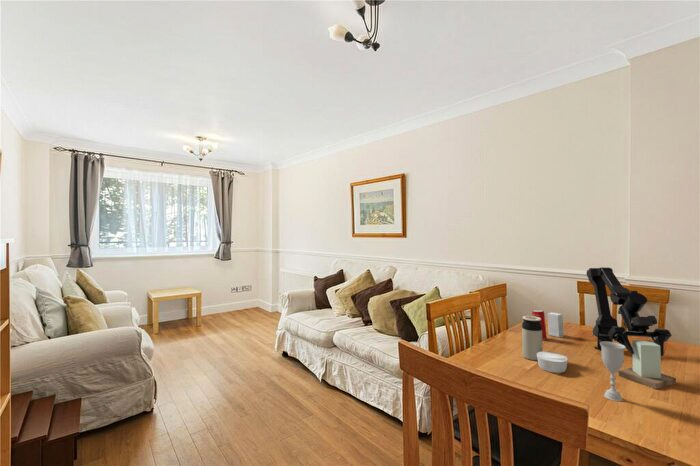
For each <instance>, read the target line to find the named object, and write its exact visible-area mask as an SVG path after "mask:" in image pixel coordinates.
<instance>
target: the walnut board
mask: <svg viewBox="0 0 700 466" xmlns="http://www.w3.org/2000/svg"><path fill="white" fill-rule="evenodd" d="M618 376H619V377H621V378H623V379H627V380H629V381H632V382H635V383H637V384H639V385H642V386H645V385H646V387H648V386H649V388H651V387H652V388H651V389H654V388H655V389H654V390H658V388H659V389H661V387H662V388H666V387H668V386H672V385H675V383H677V377H674V376H671V375H667V374H665V373H662V372H661V378H649V377H641V376H640V375H638V374H637V373H636V372H634V371H633V366H632V367H630V368H625V369H620V370H619V371H618Z"/></svg>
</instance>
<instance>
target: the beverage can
mask: <svg viewBox="0 0 700 466" xmlns="http://www.w3.org/2000/svg"><path fill="white" fill-rule="evenodd" d="M531 316H535V317H539V318H541V321H540V323H541V325H542V341H544V340H547V338H548V337H547V328H546V326H547V325H546V318H545V312H544V310H543V309H532V312H531Z"/></svg>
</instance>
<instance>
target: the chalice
mask: <svg viewBox="0 0 700 466" xmlns="http://www.w3.org/2000/svg"><path fill="white" fill-rule="evenodd" d="M600 345H601V350H600V351H601V360H602V362H603V364H604V366H605V368H606V370H607V371H608V372H610V376H609V378H610V381H609V384H610V386H611V387H610V388H608V389H606V390H605V393H604V394H603V397H604V398H606V399H608V400H611V401H614V402H623V398H622V395H621V393H620V392H619V391H618V390H617V389H616V385H617V383H616V382H615V381H616V375H615V374H617V373H619V371H620V370H621V368H622V367H623V364H624V362H625V357H624V356H625V349H626V347H625V346H624V345H622V344H620V343H619V342H618V343H617V342H616V341H613V342H607V341H602V342H600Z"/></svg>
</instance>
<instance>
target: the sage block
mask: <svg viewBox="0 0 700 466" xmlns="http://www.w3.org/2000/svg"><path fill="white" fill-rule="evenodd" d="M631 341H632V343H631V346H632V348H633V351H634V354H631V355H632V356H631V357H632V367H633V371H634V372H636V373H637V374H638V375H640V376H641V377H649V378H661V373H662V371H661V370H662V368H661V367H662V365H661V364H662V363H661V360H662V359H661V358H662V356H661V353H660V346H659V345H657V344H656V343H654V341H653V340H641V339H640V340H639V339H632V340H631Z"/></svg>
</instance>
